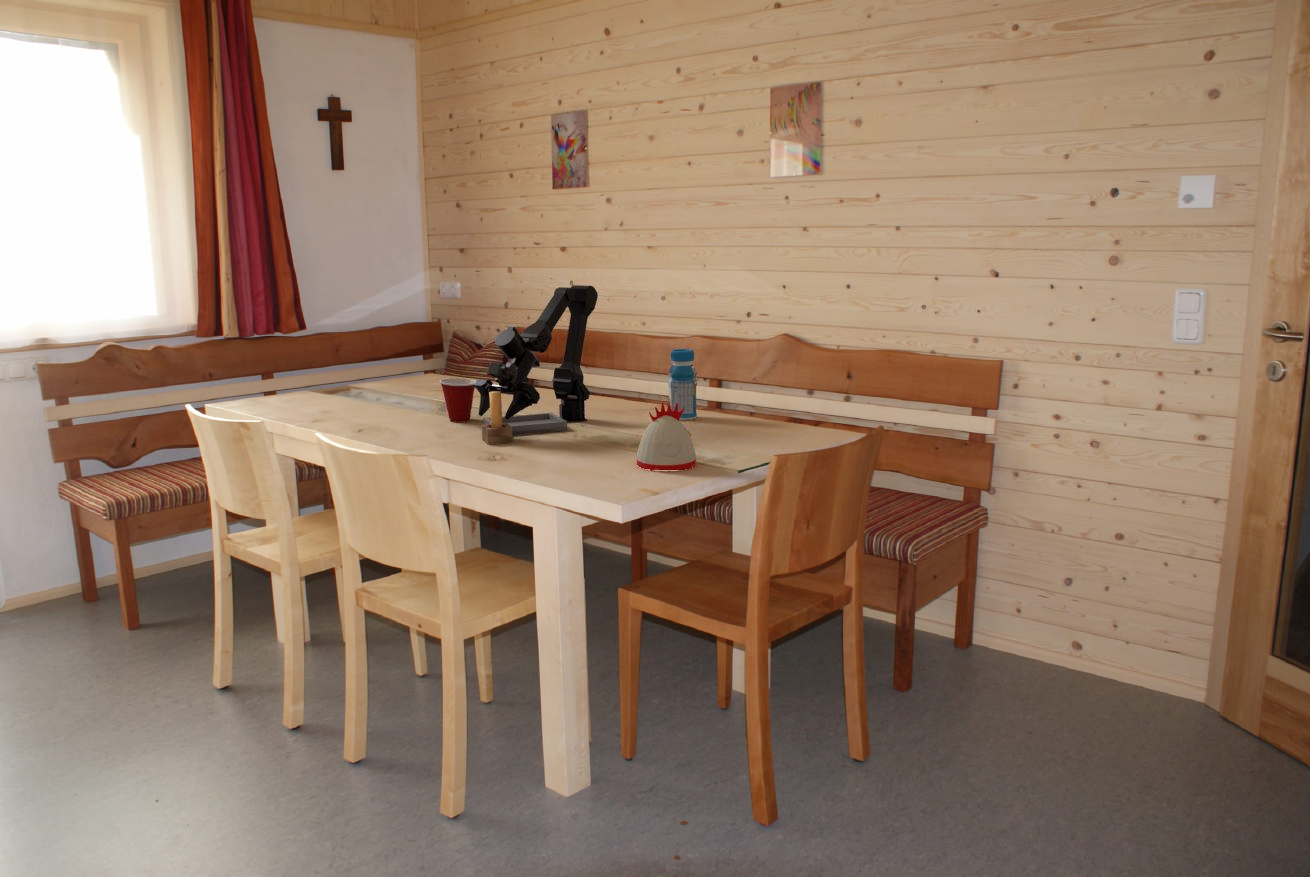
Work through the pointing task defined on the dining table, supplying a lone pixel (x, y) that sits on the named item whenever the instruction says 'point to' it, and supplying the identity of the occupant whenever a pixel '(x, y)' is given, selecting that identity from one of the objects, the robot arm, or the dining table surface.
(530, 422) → the charcoal tray
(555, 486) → the dining table surface
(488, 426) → the walnut socket block
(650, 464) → the chicken hat
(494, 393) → the tan dowel pin
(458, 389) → the plastic cup
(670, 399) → the beverage bottle
